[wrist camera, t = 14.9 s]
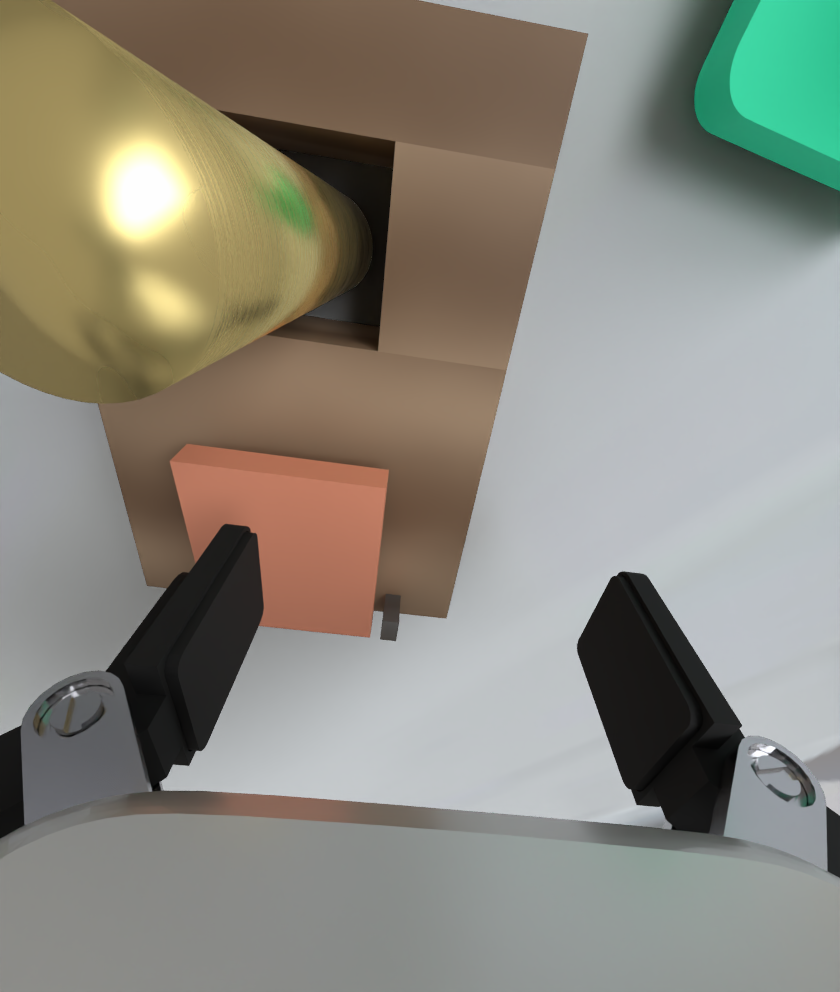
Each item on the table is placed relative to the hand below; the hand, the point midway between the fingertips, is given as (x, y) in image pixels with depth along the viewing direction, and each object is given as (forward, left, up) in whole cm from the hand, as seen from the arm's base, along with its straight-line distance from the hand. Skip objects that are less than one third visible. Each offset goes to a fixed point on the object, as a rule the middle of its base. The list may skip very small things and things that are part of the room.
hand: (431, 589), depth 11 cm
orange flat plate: (+2, -5, -3) cm, 6 cm away
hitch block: (-3, -5, -8) cm, 10 cm away
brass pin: (-7, -5, -8) cm, 12 cm away
